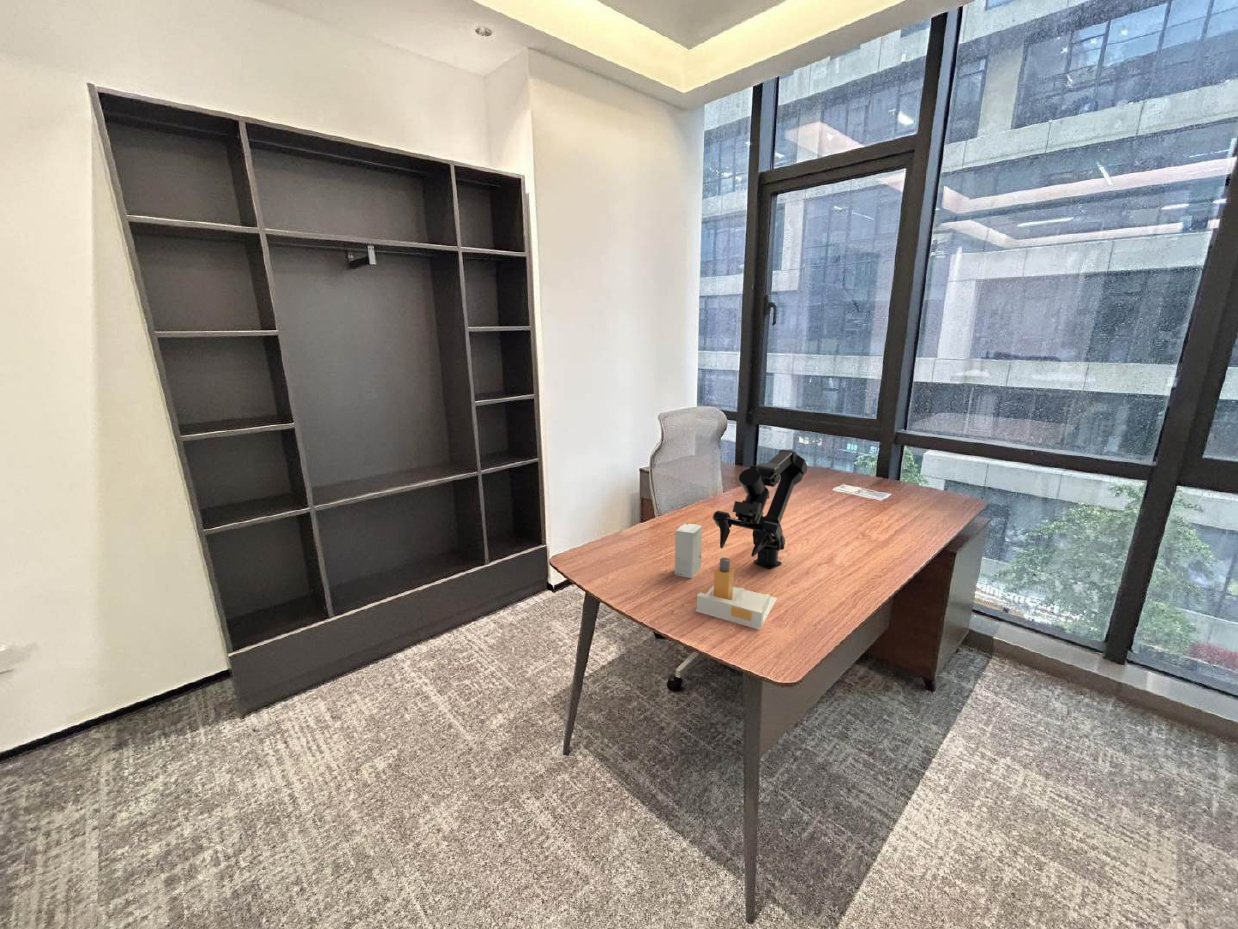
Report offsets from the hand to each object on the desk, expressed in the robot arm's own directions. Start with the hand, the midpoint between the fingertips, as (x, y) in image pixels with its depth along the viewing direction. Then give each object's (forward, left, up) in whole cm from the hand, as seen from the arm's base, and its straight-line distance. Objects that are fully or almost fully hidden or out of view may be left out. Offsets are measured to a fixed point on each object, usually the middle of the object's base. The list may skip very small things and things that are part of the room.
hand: (736, 552), depth 138 cm
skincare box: (0, -18, -13) cm, 22 cm away
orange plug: (+7, +2, -13) cm, 15 cm away
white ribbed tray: (+4, +5, -13) cm, 14 cm away
